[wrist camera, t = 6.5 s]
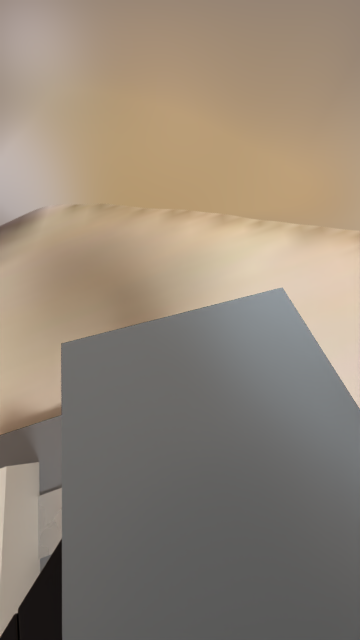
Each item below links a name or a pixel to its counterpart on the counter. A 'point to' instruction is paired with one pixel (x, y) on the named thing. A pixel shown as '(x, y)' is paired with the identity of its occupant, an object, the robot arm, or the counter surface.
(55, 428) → the board
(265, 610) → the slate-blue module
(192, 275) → the counter surface
